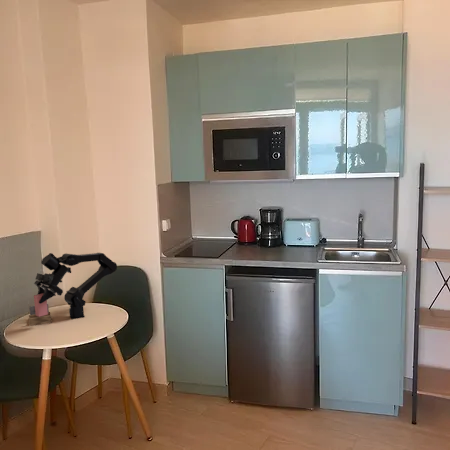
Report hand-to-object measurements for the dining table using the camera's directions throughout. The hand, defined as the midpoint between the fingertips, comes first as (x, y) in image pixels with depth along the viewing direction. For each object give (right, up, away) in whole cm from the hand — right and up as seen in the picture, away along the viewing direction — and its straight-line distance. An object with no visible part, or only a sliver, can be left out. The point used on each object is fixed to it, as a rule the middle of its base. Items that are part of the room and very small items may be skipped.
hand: (37, 302), depth 226 cm
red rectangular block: (+1, -6, +2) cm, 7 cm away
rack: (-3, -11, +12) cm, 17 cm away
